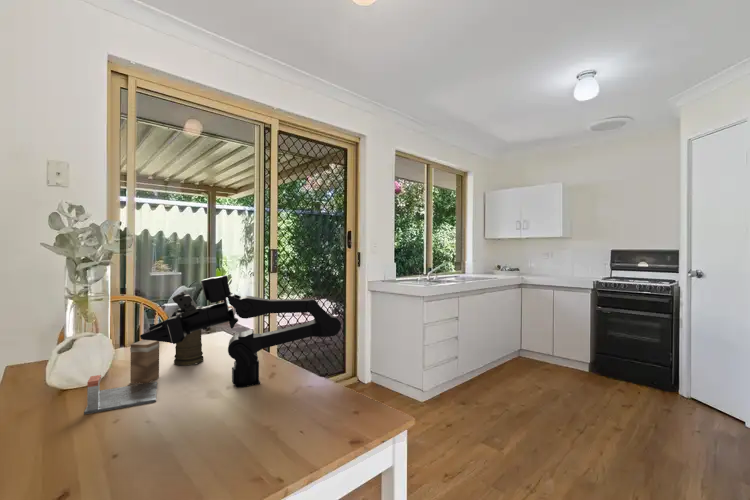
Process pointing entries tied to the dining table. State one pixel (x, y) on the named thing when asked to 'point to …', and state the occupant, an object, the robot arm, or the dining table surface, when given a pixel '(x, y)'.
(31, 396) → the dining table surface
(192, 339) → the container
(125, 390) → the keeper
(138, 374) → the link block
